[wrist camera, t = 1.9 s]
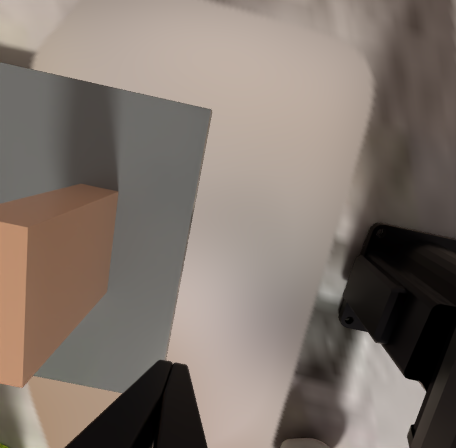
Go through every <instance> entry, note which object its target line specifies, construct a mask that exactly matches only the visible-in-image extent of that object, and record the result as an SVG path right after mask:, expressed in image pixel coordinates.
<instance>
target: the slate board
mask: <svg viewBox="0 0 456 448" xmlns="http://www.w3.org/2000/svg"><path fill="white" fill-rule="evenodd" d="M211 115H212V110H211V109H207V108H202V107H198V106H193V105H189V104H184V103H180V102H175V101H170V100H166V99H162V98H157V97H153V96H148V95H144V94H140V93H135V92H131V91H126V90H122V89H117V88H113V87H108V86H104V85H99V84H95V83H91V82H86V81H82V80H77V79H72V78H68V77H63V76H59V75H55V74H50V73H46V72H41V71H37V70H33V69H28V68H24V67H19V66H15V65H10V64H6V63H1V62H0V204H1V203H5V202H9V201H13V200H17V199H21V198H25V197H29V196H33V195H37V194H41V193H45V192H49V191H53V190H57V189H61V188H65V187H69V186H73V185H77V184H85V185H90V186H95V187H99V188H104V189H109V190H113V191H118V201H117V210H116V218H115V227H114V236H113V244H112V253H111V262H110V270H109V279H108V288H107V292H106V294H105V295H104V296H103V297H102V298H101V299H100V300H99V302H98V303H97V304H96V305H95V306H94V307H93V308H92V309H91V311H90V312H89V313H88V314H87V315H86V316H85V317H84V319H83V320H82V321H81V322H80V323H79V324H78V325H77V326H76V328H75V329H74V330H73V331H72V332H71V333H70V334H69V336H68V337H67V338H66V339H65V340H64V341H63V342H62V343H61V345H60V346H59V347H58V348H57V349H56V350H55V351H54V353H53V354H52V355H51V356H50V357H49V358H48V359H47V360H46V362H45V363H44V364H43V365H42V366H41V367H40V368H39V370H38V371H37V372H36V373H35V374H34V375H33V376H38V377H42V378H48V379H53V380H58V381H63V382H68V383H73V384H78V385H83V386H88V387H93V388H98V389H104V390H109V391H114V392H119V393H124V392H125V391H126V390H127V389H128V388H129V387H130V386H131V385H132V384H133V383H134V382H135V381H136V380H138V379H139V378H140V377H141V376H142V375H143V374H144V373H145V372H146V371H147V370H148V369H149V368H150V367H151V366H153V365H154V364H155V363H156V362H157V361H158V360H166V357H167V351H168V346H169V340H170V335H171V329H172V324H173V319H174V314H175V308H176V303H177V298H178V292H179V287H180V281H181V276H182V271H183V266H184V260H185V255H186V249H187V244H188V239H189V233H190V228H191V223H192V217H193V212H194V207H195V201H196V196H197V191H198V185H199V180H200V174H201V169H202V164H203V158H204V153H205V147H206V142H207V137H208V132H209V126H210V120H211Z"/></svg>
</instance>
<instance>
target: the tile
mask: <svg viewBox="0 0 456 448" xmlns="http://www.w3.org/2000/svg"><path fill="white" fill-rule="evenodd" d="M117 201H118V191H113V190H109V189H104V188H99V187H95V186H90V185H85V184H77V185H73V186H69V187H65V188H61V189H57V190H53V191H49V192H45V193H41V194H37V195H33V196H29V197H25V198H21V199H17V200H13V201H9V202H5V203H1V204H0V383H1V384H6V385H11V386H16V387H21V388H23V387H24V385H25V384H26V383H27V382H28V381H29V380H30V379H31V377H32V376H33V375H34V374H35V373H36V372H37V371H38V370H39V368H40V367H41V366H42V365H43V364H44V363H45V362H46V360H47V359H48V358H49V357H50V356H51V355H52V354H53V353H54V351H55V350H56V349H57V348H58V347H59V346H60V345H61V343H62V342H63V341H64V340H65V339H66V338H67V337H68V336H69V334H70V333H71V332H72V331H73V330H74V329H75V328H76V326H77V325H78V324H79V323H80V322H81V321H82V320H83V319H84V317H85V316H86V315H87V314H88V313H89V312H90V311H91V309H92V308H93V307H94V306H95V305H96V304H97V303H98V302H99V300H100V299H101V298H102V297H103V296H104V295H105V294H106V292H107V288H108V279H109V270H110V262H111V253H112V244H113V236H114V227H115V218H116V210H117Z"/></svg>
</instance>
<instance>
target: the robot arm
mask: <svg viewBox="0 0 456 448" xmlns="http://www.w3.org/2000/svg"><path fill="white" fill-rule="evenodd" d="M379 229H383V232H382V234H381V235H379V236H377V231H378V230H379ZM343 297H344V298H345V299H344V302H343V305H342V308H341V310H340V313H339V321H340V322H341V324H342V325H343V326H344V327H346V328H351V329H356V330H361V331H365V332H368V333H369V334H370V336H371V337H372V339H373V340H374V341H375V342H376V343H380V344H381V345H382V346H383V348H384V349H385V350H386V352H387V353H388V354H389V356H390V357H391V359H392V360H393V361H394V363H395V364H396V366H397V367H398V368H399V370H400V371H401V372H402V374H403V375H404V377H405V378H407V379H411V380H416V381H418V382H419V383H420V384H421V385H422V387H423V388H424V389H425V391H426V395H425V398H424V400H423V403H422V406H421V408H420V411H419V414H418V416H417V419H416V422H415V424H414V425H411V426H410V429H409V432H408V435H407V439H408V443H409V448H456V239H454V238H449V237H445V236H440V235H435V234H431V233H426V232H422V231H417V230H412V229H408V228H403V227H399V226H394V225H389V224H385V223H375V224H373V225H372V226H371V227H370V229H369V232H368V234H367V237H366V240H365V243H364V246H363V248H362V251H361V254H360V256H358V257H357V258H356V259H355V262H354V265H353V268H352V271H351V274H350V277H349V279H348V282H347V285H346V288H345V291H344V294H343ZM347 317H351V318H350V319H349V320H345V319H346V318H347ZM152 447H153V448H207V443H206V439H205V435H204V431H203V427H202V423H201V419H200V414H199V411H198V407H197V402H196V398H195V394H194V390H193V386H192V382H191V378H190V374H189V369H188V366H187V365H185V364H180V363H174V364H172V362H171V361H166V360H158V361H157V362H156V363H155V364H154V365H153V366H151V367H150V368H149V369H148V370H147V371H146V372H145V373H144V374H143V375H142V376H141V377H140V378H139V379H138V380H136V381H135V382H134V383H133V384H132V385H131V386H130V387H129V388H128V389H127V390H126V391H125V392H124V393H122V394H121V395H120V396H119V397H118V398H117V399H116V400H115V401H114V402H113V403H112V404H111V405H110V406H109V407H108V408H106V410H104V411H103V412H102V413H101V414H100V415H99V416H98V417H97V418H96V419H95V420H94V421H92V422H91V423H90V424H89V425H88V426H87V427H86V428H85V429H84V430H83V431H82V432H81V433H80V434H79V435H77V436H76V437H75V438H74V439H73V440H72V441H71V442H70V443H69V444H68V445H67V446H66V447H65V448H152Z"/></svg>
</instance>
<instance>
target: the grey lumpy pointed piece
mask: <svg viewBox="0 0 456 448" xmlns="http://www.w3.org/2000/svg"><path fill="white" fill-rule="evenodd" d="M280 448H330V447H329V446H327V445H326V444H325V443H323V442H322V441H320V440H317V439H313V438H295V439H287V440H285V441H283V443H282V445H281V447H280Z"/></svg>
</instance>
